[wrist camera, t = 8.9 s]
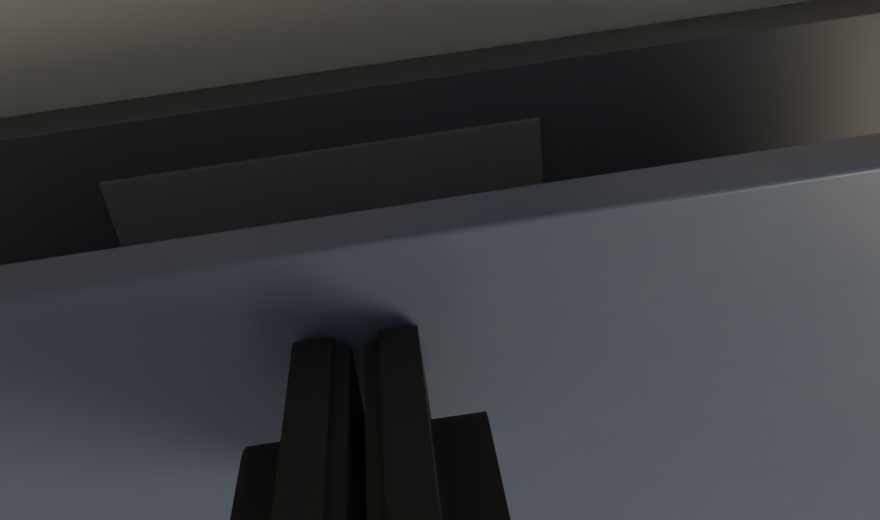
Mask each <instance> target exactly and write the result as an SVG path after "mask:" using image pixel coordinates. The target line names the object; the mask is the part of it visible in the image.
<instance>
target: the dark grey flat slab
mask: <svg viewBox="0 0 880 520" xmlns="http://www.w3.org/2000/svg"><path fill="white" fill-rule="evenodd" d="M874 133H880V0H818V1H811V2H805V3H798V4H791V5H784V6H777V7H770V8H763V9H756V10H749V11H742V12H735V13H728V14H721V15H714V16H707V17H701V18H694V19H687V20H680V21H673V22H666V23H659V24H652V25H645V26H638V27H631V28H624V29H617V30H610V31H603V32H597V33H590V34H583V35H576V36H569V37H562V38H555V39H548V40H541V41H534V42H527V43H520V44H513V45H506V46H499V47H493V48H486V49H479V50H472V51H465V52H458V53H451V54H444V55H437V56H430V57H423V58H416V59H409V60H402V61H395V62H389V63H382V64H375V65H368V66H361V67H354V68H347V69H340V70H333V71H326V72H319V73H312V74H305V75H298V76H291V77H285V78H278V79H271V80H264V81H257V82H250V83H243V84H236V85H229V86H222V87H215V88H208V89H201V90H194V91H187V92H181V93H174V94H167V95H160V96H153V97H146V98H139V99H132V100H125V101H118V102H111V103H104V104H97V105H90V106H83V107H77V108H70V109H63V110H56V111H49V112H42V113H35V114H28V115H21V116H14V117H7V118H0V265H4V264H10V263H17V262H24V261H30V260H37V259H44V258H50V257H57V256H64V255H70V254H77V253H84V252H90V251H97V250H103V249H110V248H117V247H123V246H130V245H137V244H143V243H150V242H157V241H163V240H170V239H177V238H183V237H190V236H197V235H203V234H210V233H216V232H223V231H230V230H236V229H243V228H250V227H256V226H263V225H270V224H276V223H283V222H290V221H296V220H303V219H310V218H316V217H323V216H329V215H336V214H343V213H349V212H356V211H363V210H369V209H376V208H383V207H389V206H396V205H403V204H409V203H416V202H422V201H429V200H436V199H442V198H449V197H456V196H462V195H469V194H476V193H482V192H489V191H496V190H502V189H509V188H516V187H522V186H529V185H535V184H542V183H549V182H555V181H562V180H569V179H575V178H582V177H589V176H595V175H602V174H609V173H615V172H622V171H629V170H635V169H642V168H648V167H655V166H662V165H668V164H675V163H682V162H688V161H695V160H702V159H708V158H715V157H722V156H728V155H735V154H742V153H748V152H755V151H761V150H768V149H775V148H781V147H788V146H795V145H801V144H808V143H815V142H821V141H828V140H835V139H841V138H848V137H854V136H861V135H868V134H874Z"/></svg>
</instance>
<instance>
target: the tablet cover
mask: <svg viewBox="0 0 880 520" xmlns="http://www.w3.org/2000/svg"><path fill="white" fill-rule="evenodd" d="M411 325H417V326H418V331H419V338H420V345H421V351H422V358H423V365H424V371H425V378H426V384H427V391H428V398H429V404H430V411H431V418H432V419H436V418H443V417H450V416H457V415H463V414H470V413H477V412H484V411H486V412H487V415H488V419H489V423H490V428H491V432H492V437H493V442H494V446H495V451H496V455H497V460H498V464H499V469H500V473H501V478H502V482H503V487H504V492H505V496H506V501H507V505H508V510H509V514H510V519H511V520H880V133H874V134H868V135H861V136H854V137H848V138H841V139H835V140H828V141H821V142H815V143H808V144H801V145H795V146H788V147H781V148H775V149H768V150H761V151H755V152H748V153H742V154H735V155H728V156H722V157H715V158H708V159H702V160H695V161H688V162H682V163H675V164H668V165H662V166H655V167H648V168H642V169H635V170H629V171H622V172H615V173H609V174H602V175H595V176H589V177H582V178H575V179H569V180H562V181H555V182H549V183H542V184H535V185H529V186H522V187H516V188H509V189H502V190H496V191H489V192H482V193H476V194H469V195H462V196H456V197H449V198H442V199H436V200H429V201H422V202H416V203H409V204H403V205H396V206H389V207H383V208H376V209H369V210H363V211H356V212H349V213H343V214H336V215H329V216H323V217H316V218H310V219H303V220H296V221H290V222H283V223H276V224H270V225H263V226H256V227H250V228H243V229H236V230H230V231H223V232H216V233H210V234H203V235H197V236H190V237H183V238H177V239H170V240H163V241H157V242H150V243H143V244H137V245H130V246H123V247H117V248H110V249H103V250H97V251H90V252H84V253H77V254H70V255H64V256H57V257H50V258H44V259H37V260H30V261H24V262H17V263H10V264H4V265H0V520H230V517H231V511H232V505H233V500H234V494H235V489H236V483H237V478H238V472H239V467H240V461H241V457H242V453H243V450H244V449H245V448H246V446H253V445H260V444H266V443H273V442H280V440H281V432H282V423H283V415H284V407H285V399H286V391H287V382H288V374H289V366H290V358H291V350H292V344H293V343H294V342H300V341H307V340H314V339H321V338H328V337H333V338H334V339H335V343H336V347H339V346H346V345H350V346H351V349H352V354H353V359H354V363H355V368H356V373H357V378H358V383H359V388H360V393H361V398H362V403H363V408H364V413H365V370H364V343H367V342H374V341H379V338H378V331H379V330H384V329H391V328H397V327H404V326H411Z"/></svg>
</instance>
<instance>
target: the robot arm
mask: <svg viewBox="0 0 880 520" xmlns="http://www.w3.org/2000/svg"><path fill="white" fill-rule="evenodd" d="M378 338H379V341H374V342H367V343H364V370H365V413H364V408H363V403H362V398H361V393H360V388H359V383H358V378H357V373H356V368H355V363H354V359H353V354H352V349H351V346H350V345H346V346H339V347H336V343H335V339H334V338H333V337H328V338H321V339H314V340H307V341H300V342H294V343H293V344H292V350H291V358H290V366H289V374H288V382H287V391H286V399H285V407H284V415H283V423H282V432H281V440H280V442H273V443H266V444H260V445H253V446H246V448H245V449H244V450H243V453H242V457H241V461H240V467H239V472H238V478H237V483H236V489H235V494H234V500H233V505H232V511H231V517H230V520H511V519H510V514H509V510H508V505H507V501H506V496H505V492H504V487H503V482H502V478H501V473H500V469H499V464H498V460H497V455H496V451H495V446H494V442H493V437H492V432H491V428H490V423H489V419H488V415H487V412H486V411H484V412H477V413H470V414H463V415H457V416H450V417H443V418H436V419H432V418H431V411H430V404H429V398H428V391H427V384H426V378H425V371H424V365H423V358H422V351H421V345H420V338H419V331H418V326H417V325H411V326H404V327H397V328H391V329H384V330H379V331H378Z"/></svg>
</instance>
